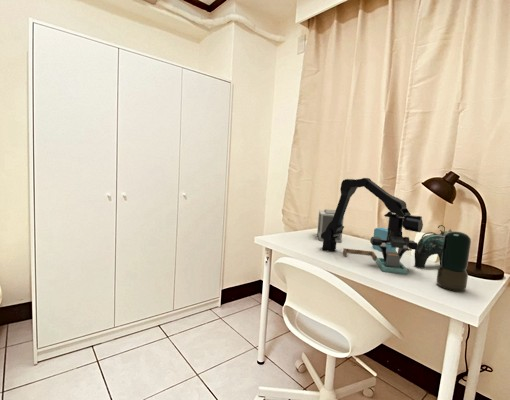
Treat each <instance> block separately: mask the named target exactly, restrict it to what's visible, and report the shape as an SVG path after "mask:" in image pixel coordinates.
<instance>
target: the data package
mask: <svg viewBox="0 0 510 400" xmlns="http://www.w3.org/2000/svg"><path fill="white" fill-rule="evenodd" d="M387 229H388V228H385V227H384V228H383V227H376V228H374V230H373V237H380V238H381V239H382V240H387V239H386V238H387V232H388V230H387ZM389 243H390V242H389ZM385 246H386V247H387V248H386V250H390V251H396V252H397V248H393V247H392V246H391V245H389V244H386V245H385ZM372 249H374V250H377V251H379V252H382V250H381V248H380V247H379V246H376V245H372Z"/></svg>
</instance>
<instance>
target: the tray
mask: <svg viewBox="0 0 510 400" xmlns="http://www.w3.org/2000/svg"><path fill="white" fill-rule="evenodd" d="M375 262H376V263H377V265H378V267H379V269H380V270H381V271H382V272H383V273H393V274H399V275H408V269H407V267H406V266H405V265H404V264H403V263H402V262H401V261H400V263H399V268H396V267H389V266H386V264H385V262H384V258H383V257H378V256H377V257H376V260H375Z"/></svg>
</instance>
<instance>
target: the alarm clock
mask: <svg viewBox="0 0 510 400" xmlns="http://www.w3.org/2000/svg"><path fill="white" fill-rule="evenodd" d="M335 211H336V209H326V208H325V209H323V210H319V211H318V218H317V219H318V220H317V230H316V231H317V233H316V235H317V237H318V241H319V242H322V243H323V239H322V238H321V234H322V233H323V232H325V230H326V228H327V226H328V224H329V223H330V222H331V221H332V220H333V217H334V214H335ZM344 217H345V216H344ZM344 217H343V219H342V226H344ZM342 238H343V232H342V233H341V234H340V235H339V236H338V238H335V239H336V240H335V241H336V244H342V242H343V241H342V240H343V239H342Z"/></svg>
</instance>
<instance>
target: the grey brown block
mask: <svg viewBox="0 0 510 400" xmlns="http://www.w3.org/2000/svg"><path fill="white" fill-rule="evenodd" d="M384 262H385V264H386V266H389V267H396V268H399V263H400V262H401V259H400V256H399V255H398V251H397V250H396V251H390V250H386V261H384Z"/></svg>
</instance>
